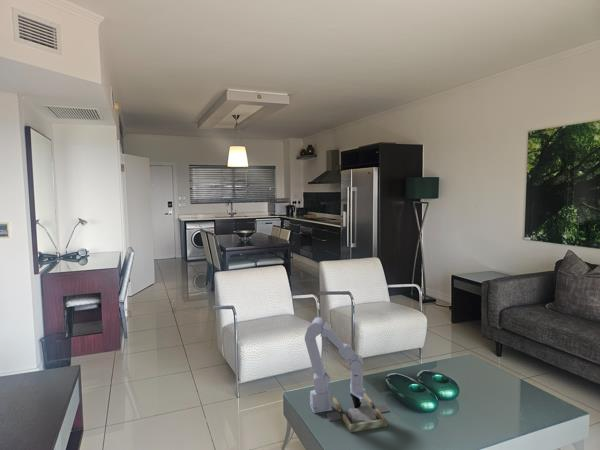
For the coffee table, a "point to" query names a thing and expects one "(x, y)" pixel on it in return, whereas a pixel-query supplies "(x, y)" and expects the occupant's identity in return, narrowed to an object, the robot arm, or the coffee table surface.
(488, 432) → the coffee table surface
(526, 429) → the coffee table surface
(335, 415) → the trap pits
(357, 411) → the stone block
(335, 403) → the tan u-shaped piece
